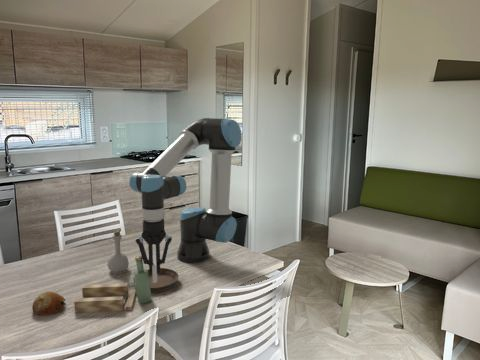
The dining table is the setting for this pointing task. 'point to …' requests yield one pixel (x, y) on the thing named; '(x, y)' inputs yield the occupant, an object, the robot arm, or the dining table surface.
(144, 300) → the bottle
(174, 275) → the plant saucer
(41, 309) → the bread roll
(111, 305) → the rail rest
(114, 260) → the potion bottle
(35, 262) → the dining table surface
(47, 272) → the dining table surface
